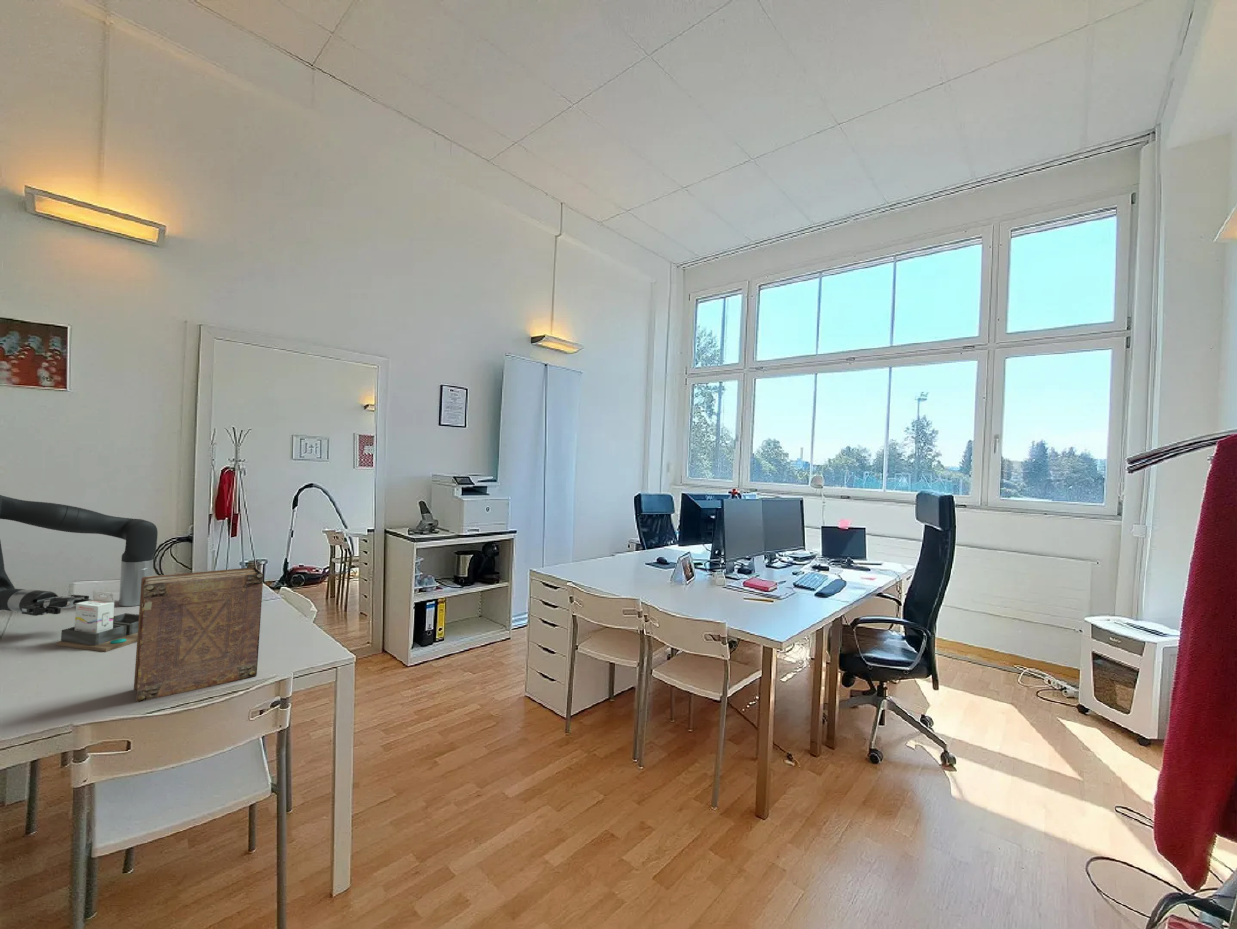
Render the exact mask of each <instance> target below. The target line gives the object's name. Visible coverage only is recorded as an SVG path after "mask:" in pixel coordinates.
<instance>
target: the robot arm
mask: <svg viewBox="0 0 1237 929" xmlns="http://www.w3.org/2000/svg"><path fill="white" fill-rule="evenodd" d="M0 520H8V521H14V522H17V523H20V524H21V523H22V524H25V525H30V526H34V527H37V528H42V529H46V530H47V529H48V530H53V531H59V532H64V533H72V534H73V533H74V534H75V533H76V534H94V535H95V534H96V535H98V534H99V535H105V536H109V537H113V538H118V539H122V540H124V541H125V548H124V551H123V553H122V555H121V560H120V561H121V565H120V577H119V578H120V580H119V581H120V582H119V596H118V597H119V598H118V605H119V606H121V607H134V606H135V607H137V606H140V594H141V580H142V578H143V577H148V576H154V558H155V554H156V552H157V546H158V534H159V533H158V528H157V525H156V524H154V523H153V522H151V521H149V520H145V519H142V518H141V519H140V518H132V517H131V518H130V517H120V516H112V515H108V514H104V513H101V512H97V511H94V510H90V509H86V508H82V507H77V506H73V505H68V504H62V503H55V502H53V503H52V502H46V501H45V502H44V501H33V500H32V501H31V500H23V499H18V498H13V497H10V496H5V495H2V494H0ZM89 600H92V599H90V595H82V594H81V595H80V594H71V595H70V596H61V595H60V596H59V595H58V594H57V593H56V592H53V591H48V590H39V589H23V588H16V587H15V586H14V585H13V582H12V581H11V579H10V578H9V575H8V574H7V572H6V569H5V562H4V555H3V549H2V543H1V540H0V611H9V612H16V613H19V614H22V615H28V616H34V617H37V616H43V615H47V614H51V615H59V614H60V615H61V612H62V611H61V610H62V609H70V608H73V607H76V603H80V602H85V601H89ZM68 602H69V605H68Z"/></svg>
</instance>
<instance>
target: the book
mask: <svg viewBox="0 0 1237 929" xmlns="http://www.w3.org/2000/svg"><path fill="white" fill-rule="evenodd" d="M263 586H264V573H263V572H262V571H261V570H260V569H258V568H257V567H256V566H253V567H245V568H244V567H243V568H232V569H221V570H209V571H208V570H207V571H197V572H196V571H195V572H184V573H175V574H162V575H153V576H148V577H143V578H142V580H141V594H140V605H139V610H138V611H139V612H138V615H139V622H138V636H137V642H136V651H135V652H136V654H135V668H134V681H133V690H135V691H136V703H140V702H145V701H150V700H154V699H158V698H159V699H160V698H164V697H167V696H172V695H177V694H182V693H186V692H191V691H195V690H199V689H203V688H204V689H205V688H209V687H213V686H217V685H223V684H226V683H231V682H236V681H240V680H245V679H249V678H254V677H257V675H258V661H259V647H260V646H259V645H260V632H261V630H260V629H261V618H262V617H261V615H262V603H263V602H262V601H263V600H262V599H263V588H264V587H263Z"/></svg>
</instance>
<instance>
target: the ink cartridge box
mask: <svg viewBox="0 0 1237 929" xmlns="http://www.w3.org/2000/svg"><path fill="white" fill-rule="evenodd" d="M114 597H115V595H114V593H113V592H108V591H100V590H93V591H92V599H91V600H89V601H85V602H80V603H75V604H76V606H75V617H74V627H75V631H83V632H91V633H100V632H103V631H107V630H110V629H113V617H114V616H115V614H114V613H115V612H114V611H115V598H114Z"/></svg>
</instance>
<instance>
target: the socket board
mask: <svg viewBox="0 0 1237 929" xmlns="http://www.w3.org/2000/svg"><path fill="white" fill-rule="evenodd" d="M138 622H139V613H138V614H137V613H129V612H128V613H127V612H125V613H121V614H117V615H114V617H113V629H110V630H107V631H103V632H100V633H91V632H83V631H75V626H72V627H69V628H65V629H61V633H60V641H56V646H59V647H66V646H67V647H69V648H75V649H81V650H89V651H97V652H106V653H107V652H110V651H112V650H113V651H114V650H117V649H119V648H122V647H125V646H128V645H132V644H134V643H137V636H138Z"/></svg>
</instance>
